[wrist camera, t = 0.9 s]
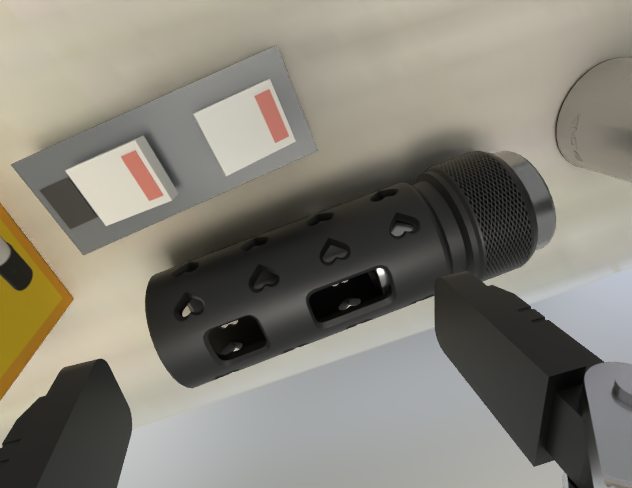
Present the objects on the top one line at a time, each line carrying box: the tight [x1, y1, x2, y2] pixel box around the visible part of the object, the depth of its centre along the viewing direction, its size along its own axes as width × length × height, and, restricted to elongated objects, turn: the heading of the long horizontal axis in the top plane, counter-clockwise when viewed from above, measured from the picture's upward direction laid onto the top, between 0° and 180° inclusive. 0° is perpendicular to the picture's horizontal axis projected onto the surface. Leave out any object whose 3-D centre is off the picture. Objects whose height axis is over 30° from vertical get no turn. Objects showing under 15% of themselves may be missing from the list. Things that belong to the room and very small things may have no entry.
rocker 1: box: [65, 135, 178, 226], centre depth 24 cm, size 5×4×1 cm
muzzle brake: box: [145, 151, 556, 388], centre depth 29 cm, size 10×28×10 cm, turn 108°
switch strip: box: [11, 45, 318, 255], centre depth 27 cm, size 18×7×4 cm, turn 112°
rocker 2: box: [192, 79, 296, 176], centre depth 24 cm, size 5×4×1 cm
